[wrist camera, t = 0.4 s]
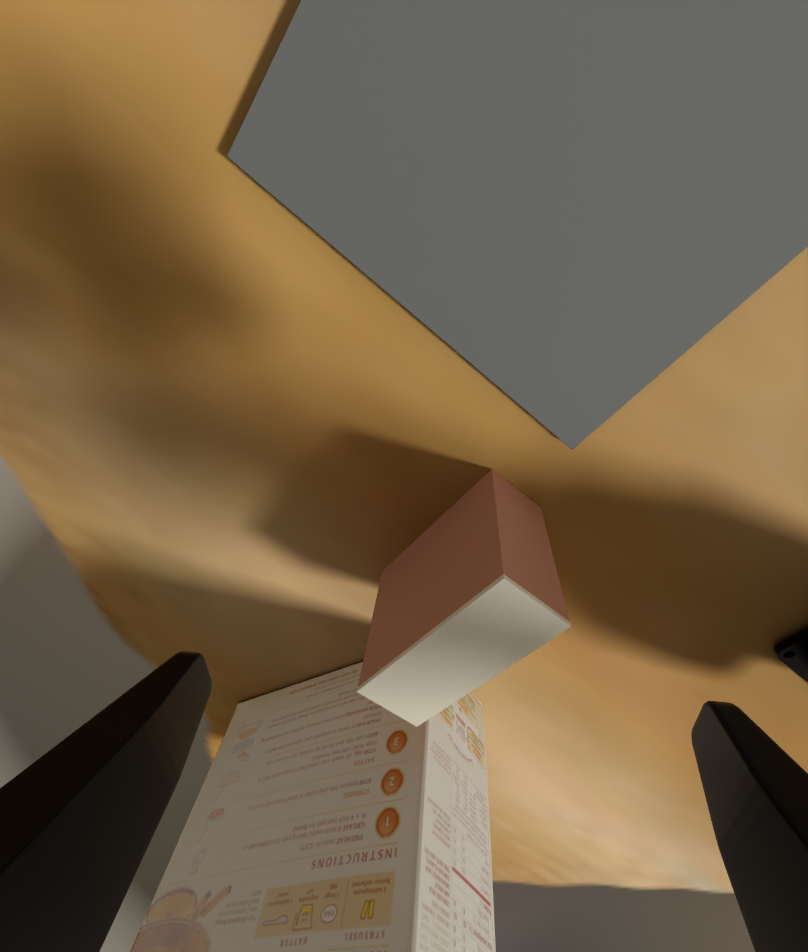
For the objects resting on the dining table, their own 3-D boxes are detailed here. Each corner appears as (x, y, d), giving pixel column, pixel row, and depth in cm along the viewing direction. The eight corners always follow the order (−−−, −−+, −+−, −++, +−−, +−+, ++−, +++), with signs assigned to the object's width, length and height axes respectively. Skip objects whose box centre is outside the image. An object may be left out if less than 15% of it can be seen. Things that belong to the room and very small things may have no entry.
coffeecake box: (299, 758, 34) (142, 1300, 17) (234, 700, 31) (-28, 1275, 15) (489, 708, 29) (527, 1404, 12) (431, 633, 26) (379, 1398, 10)
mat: (1256, -158, 11) (1296, -176, 10) (569, 442, 20) (572, 449, 19) (870, -1160, 7) (903, -1269, 6) (234, 157, 16) (226, 156, 15)
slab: (540, 506, 22) (571, 626, 16) (427, 600, 25) (416, 726, 19) (491, 468, 21) (503, 578, 15) (382, 570, 24) (356, 692, 18)
